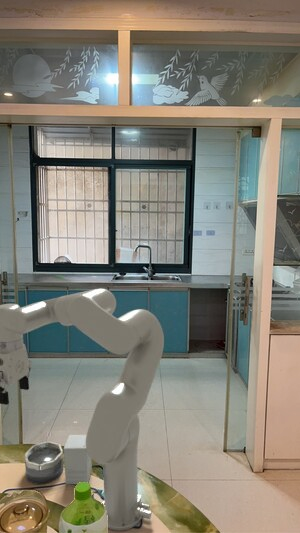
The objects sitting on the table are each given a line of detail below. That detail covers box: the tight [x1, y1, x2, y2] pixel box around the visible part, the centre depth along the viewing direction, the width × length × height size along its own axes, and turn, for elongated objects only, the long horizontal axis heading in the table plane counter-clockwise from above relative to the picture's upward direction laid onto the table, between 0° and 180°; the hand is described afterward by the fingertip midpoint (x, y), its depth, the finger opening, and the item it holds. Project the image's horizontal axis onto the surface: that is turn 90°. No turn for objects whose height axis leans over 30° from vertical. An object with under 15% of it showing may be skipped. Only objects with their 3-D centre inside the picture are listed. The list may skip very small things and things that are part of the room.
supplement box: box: [62, 434, 93, 485], centre depth 118 cm, size 7×7×13 cm
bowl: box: [24, 441, 64, 486], centre depth 121 cm, size 12×12×7 cm
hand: (14, 396), depth 115 cm, fingers open, 9 cm apart
